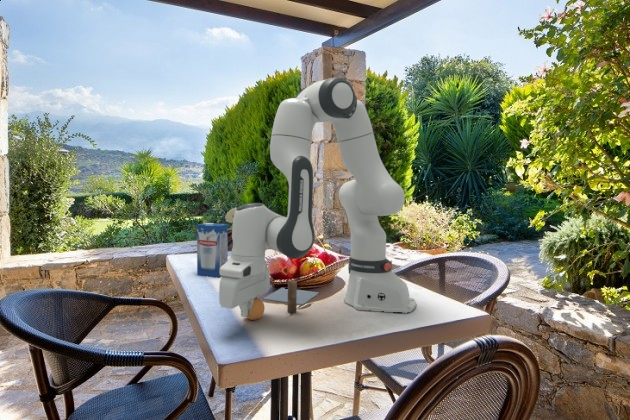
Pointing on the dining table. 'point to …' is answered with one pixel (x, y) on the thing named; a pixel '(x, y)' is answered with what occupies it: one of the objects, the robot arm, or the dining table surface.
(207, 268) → the milk carton
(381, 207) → the robot arm
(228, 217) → the flower in vase
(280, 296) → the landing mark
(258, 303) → the ball
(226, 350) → the dining table surface
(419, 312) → the dining table surface
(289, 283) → the post near
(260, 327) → the dining table surface
